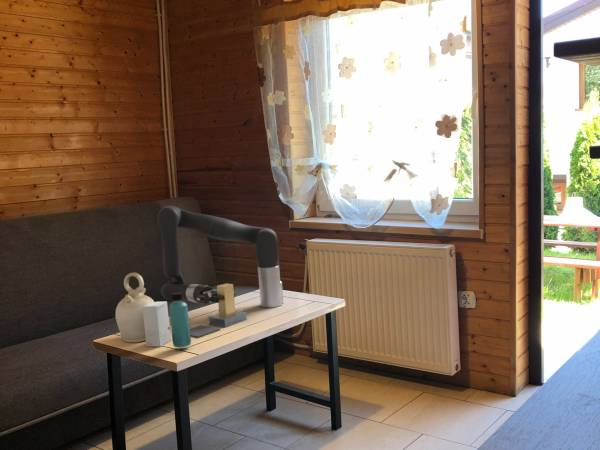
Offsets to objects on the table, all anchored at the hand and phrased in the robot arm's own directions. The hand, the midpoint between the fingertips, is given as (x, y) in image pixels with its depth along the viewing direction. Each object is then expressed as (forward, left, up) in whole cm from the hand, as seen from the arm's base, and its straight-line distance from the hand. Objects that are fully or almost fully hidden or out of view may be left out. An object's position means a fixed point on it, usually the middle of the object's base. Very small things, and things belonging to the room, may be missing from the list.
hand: (226, 297), depth 255 cm
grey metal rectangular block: (0, 0, -10) cm, 10 cm away
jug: (+31, -16, -10) cm, 37 cm away
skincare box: (+32, -3, -10) cm, 34 cm away
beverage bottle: (+32, +10, -10) cm, 35 cm away
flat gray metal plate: (+15, 0, -10) cm, 18 cm away
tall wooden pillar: (0, 0, -7) cm, 7 cm away
